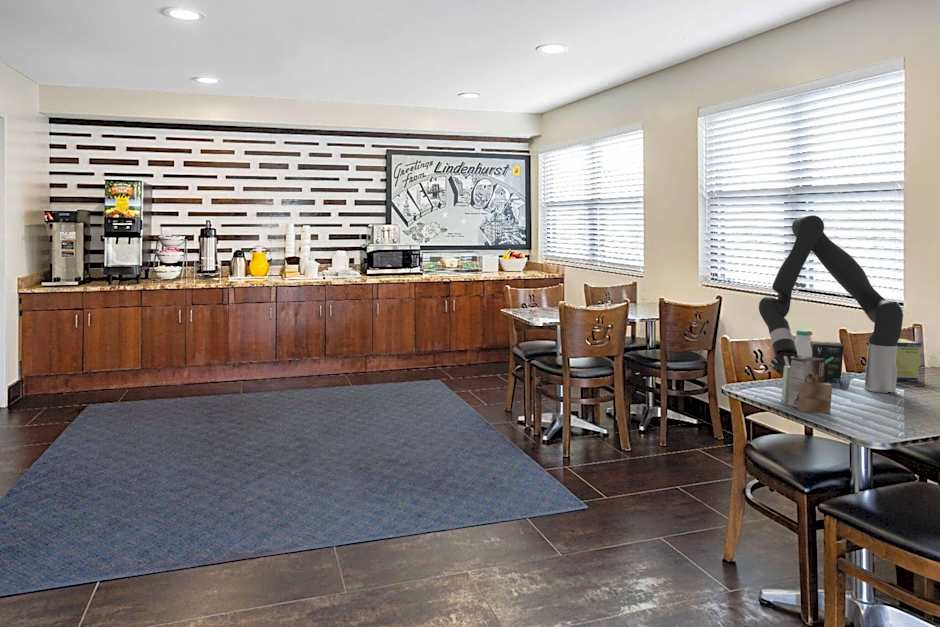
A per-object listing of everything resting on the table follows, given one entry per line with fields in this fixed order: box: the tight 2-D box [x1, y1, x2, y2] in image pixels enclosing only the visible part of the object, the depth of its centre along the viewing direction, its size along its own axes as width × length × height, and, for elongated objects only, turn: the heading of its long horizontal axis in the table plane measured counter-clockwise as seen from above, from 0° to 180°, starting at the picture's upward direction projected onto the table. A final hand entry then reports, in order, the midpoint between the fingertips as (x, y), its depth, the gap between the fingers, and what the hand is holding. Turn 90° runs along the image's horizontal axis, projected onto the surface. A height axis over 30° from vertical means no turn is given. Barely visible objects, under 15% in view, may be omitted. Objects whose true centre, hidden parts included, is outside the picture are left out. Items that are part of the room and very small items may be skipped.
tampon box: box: [809, 340, 844, 383], centre depth 284 cm, size 11×9×15 cm
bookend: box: [781, 366, 790, 403], centre depth 245 cm, size 8×3×12 cm, turn 87°
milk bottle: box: [794, 329, 812, 357], centre depth 278 cm, size 8×8×20 cm
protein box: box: [895, 338, 922, 381], centre depth 289 cm, size 10×16×16 cm
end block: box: [797, 382, 833, 413], centre depth 232 cm, size 9×3×9 cm, turn 87°
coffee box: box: [787, 357, 826, 409], centre depth 239 cm, size 9×6×16 cm
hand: (793, 384), depth 247 cm, fingers closed
